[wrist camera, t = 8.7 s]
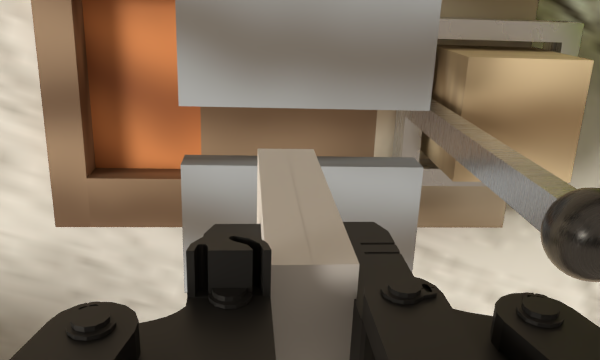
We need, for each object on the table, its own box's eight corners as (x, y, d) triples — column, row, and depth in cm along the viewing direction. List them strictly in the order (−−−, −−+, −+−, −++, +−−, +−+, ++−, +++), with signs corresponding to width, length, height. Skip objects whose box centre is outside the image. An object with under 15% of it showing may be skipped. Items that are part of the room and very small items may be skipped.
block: (430, 44, 32) (468, 56, 26) (534, 47, 32) (593, 60, 27) (419, 148, 34) (452, 181, 28) (517, 150, 34) (570, 182, 29)
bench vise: (40, -67, 31) (-83, -98, 19) (525, -46, 33) (667, -62, 22) (68, 210, 36) (-17, 315, 24) (486, 212, 38) (586, 308, 27)
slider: (392, 15, 31) (611, 61, 12) (564, 21, 32) (1021, 72, 13) (378, 174, 34) (539, 412, 15) (537, 175, 35) (878, 403, 16)
